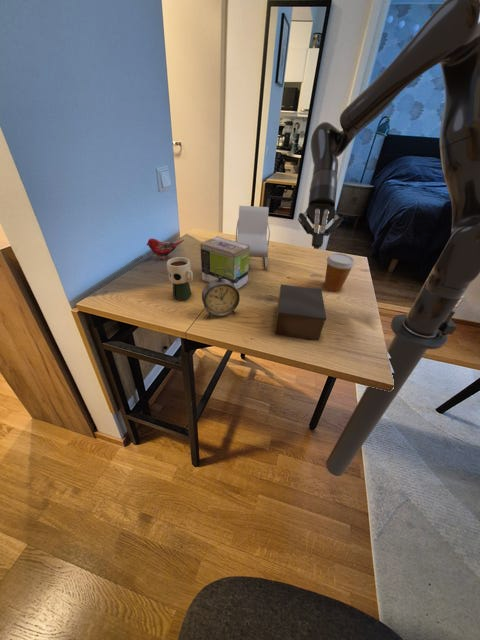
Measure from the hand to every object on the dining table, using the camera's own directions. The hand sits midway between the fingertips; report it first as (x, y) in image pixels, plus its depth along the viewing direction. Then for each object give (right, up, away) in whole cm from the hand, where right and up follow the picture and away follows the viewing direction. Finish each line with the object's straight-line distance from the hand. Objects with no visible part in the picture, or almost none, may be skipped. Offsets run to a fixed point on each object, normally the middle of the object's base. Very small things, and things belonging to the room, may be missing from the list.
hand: (316, 247), depth 73 cm
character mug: (-42, -13, +16) cm, 46 cm away
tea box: (-28, -6, +26) cm, 38 cm away
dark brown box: (-4, -21, +7) cm, 23 cm away
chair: (-17, +7, +43) cm, 47 cm away
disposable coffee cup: (+14, -8, +26) cm, 30 cm away
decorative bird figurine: (-53, +6, +40) cm, 67 cm away
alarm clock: (-28, -19, +9) cm, 35 cm away
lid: (-4, -15, +2) cm, 16 cm away
